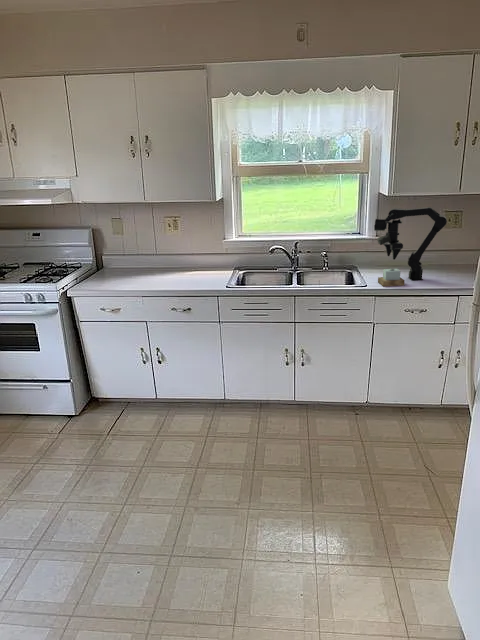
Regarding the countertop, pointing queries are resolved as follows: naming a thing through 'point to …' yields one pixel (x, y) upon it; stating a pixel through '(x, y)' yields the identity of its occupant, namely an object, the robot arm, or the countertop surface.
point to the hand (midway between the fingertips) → (391, 257)
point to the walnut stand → (390, 282)
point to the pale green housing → (391, 274)
